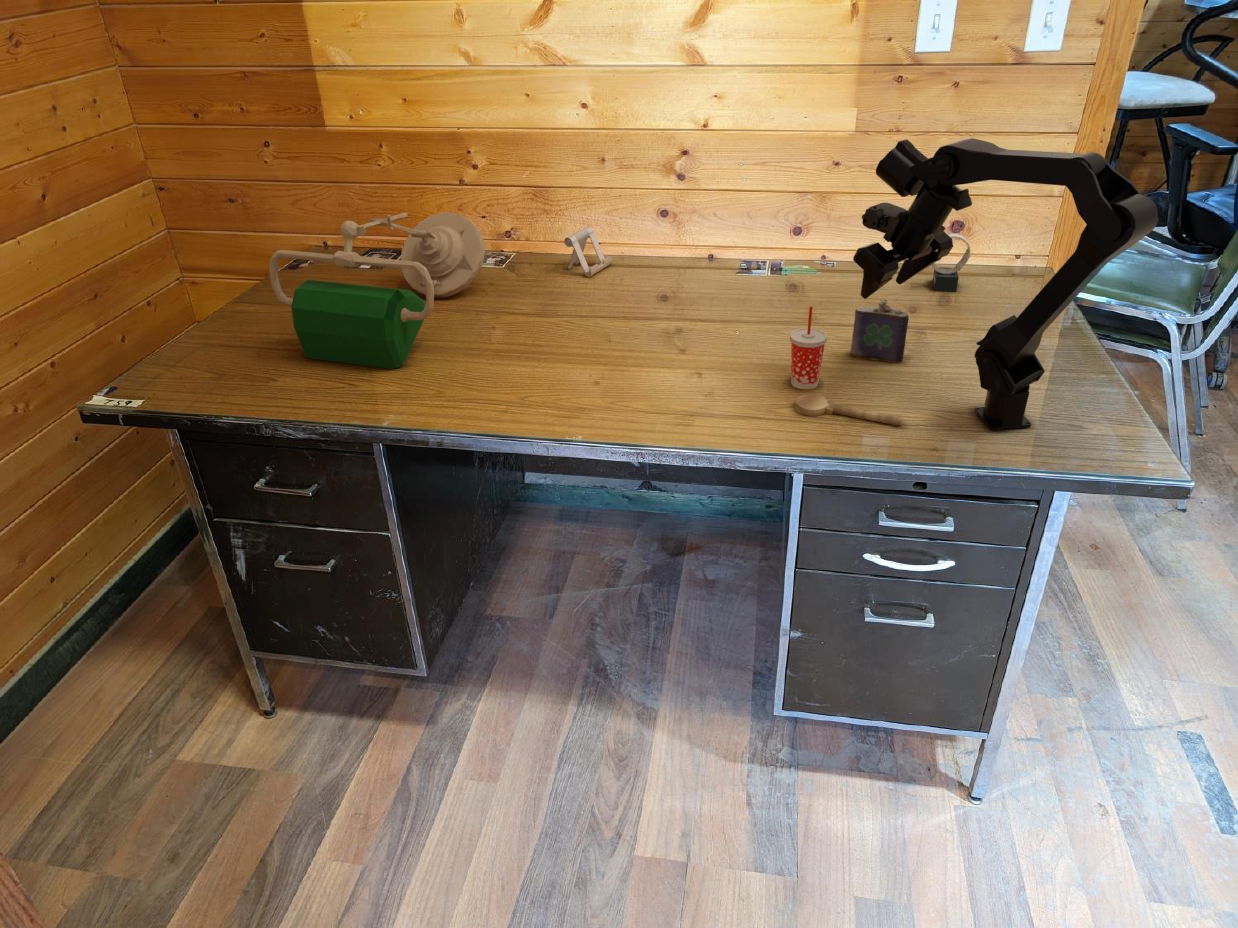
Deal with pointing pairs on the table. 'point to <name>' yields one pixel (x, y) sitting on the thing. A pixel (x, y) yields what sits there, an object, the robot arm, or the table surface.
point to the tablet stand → (578, 244)
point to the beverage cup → (806, 355)
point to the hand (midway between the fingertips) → (880, 289)
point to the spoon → (839, 410)
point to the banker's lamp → (382, 291)
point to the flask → (879, 333)
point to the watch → (949, 270)
